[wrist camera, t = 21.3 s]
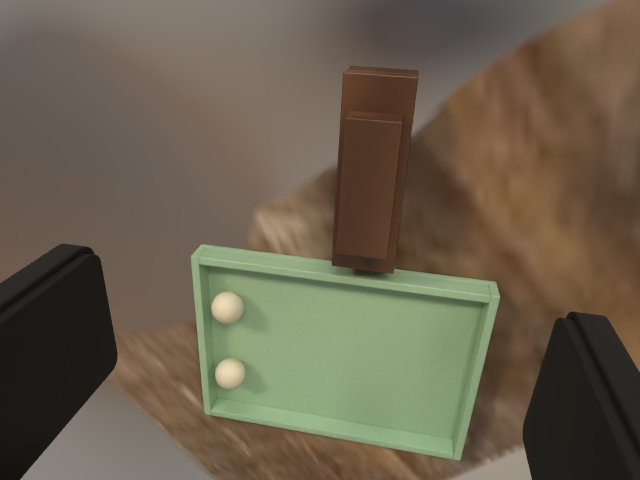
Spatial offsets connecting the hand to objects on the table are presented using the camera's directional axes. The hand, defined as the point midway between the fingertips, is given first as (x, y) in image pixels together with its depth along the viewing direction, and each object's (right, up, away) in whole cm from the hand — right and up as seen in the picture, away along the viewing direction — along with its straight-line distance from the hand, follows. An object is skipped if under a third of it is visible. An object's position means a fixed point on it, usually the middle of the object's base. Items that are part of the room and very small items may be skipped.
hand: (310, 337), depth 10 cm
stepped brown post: (+4, +7, +21) cm, 23 cm away
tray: (+1, -6, +28) cm, 29 cm away
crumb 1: (-7, -3, +26) cm, 27 cm away
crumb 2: (-7, -9, +29) cm, 31 cm away
